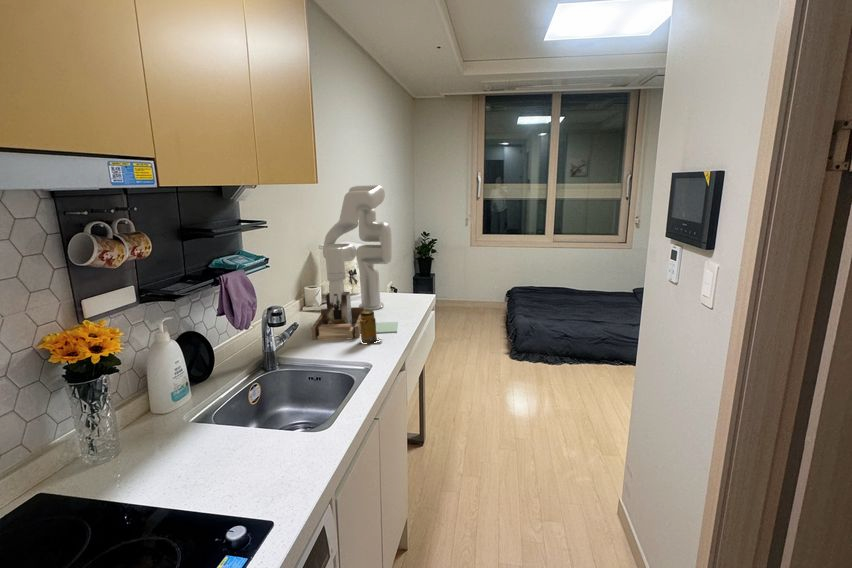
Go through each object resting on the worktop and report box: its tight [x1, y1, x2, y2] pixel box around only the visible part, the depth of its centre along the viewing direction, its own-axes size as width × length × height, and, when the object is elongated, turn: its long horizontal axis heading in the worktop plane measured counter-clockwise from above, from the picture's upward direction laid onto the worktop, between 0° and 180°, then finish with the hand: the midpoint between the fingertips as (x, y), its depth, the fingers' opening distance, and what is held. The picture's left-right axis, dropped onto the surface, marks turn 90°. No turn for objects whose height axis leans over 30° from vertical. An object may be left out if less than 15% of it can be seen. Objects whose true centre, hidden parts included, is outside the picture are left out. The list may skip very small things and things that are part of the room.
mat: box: [376, 321, 399, 334], centre depth 189 cm, size 13×13×1 cm
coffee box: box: [325, 291, 353, 327], centre depth 188 cm, size 9×6×16 cm
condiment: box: [360, 310, 383, 345], centre depth 172 cm, size 7×8×12 cm
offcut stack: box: [317, 324, 355, 341], centre depth 179 cm, size 4×14×5 cm, turn 90°
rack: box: [310, 306, 365, 341], centre depth 187 cm, size 22×19×7 cm
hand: (339, 316), depth 188 cm, fingers open, 7 cm apart
